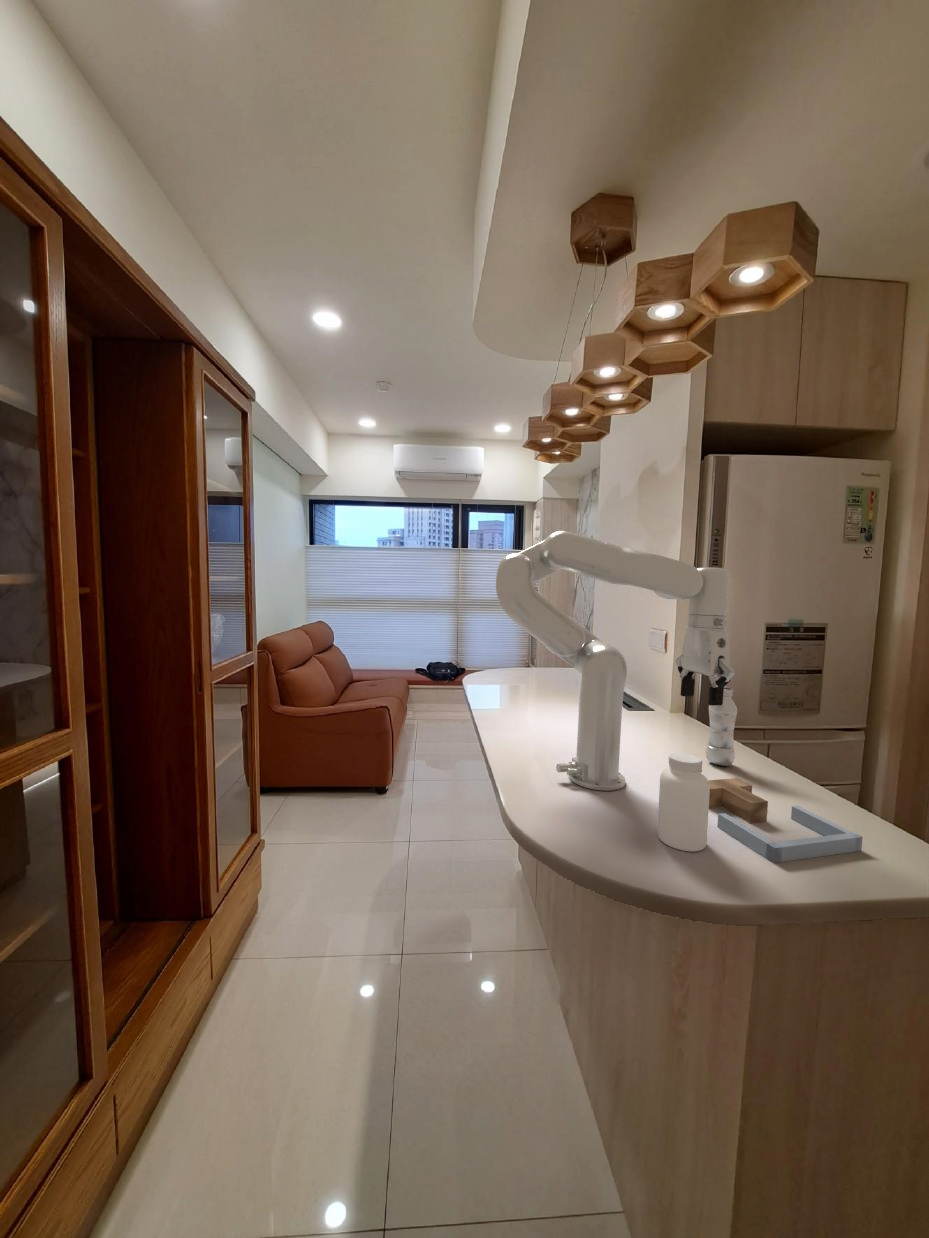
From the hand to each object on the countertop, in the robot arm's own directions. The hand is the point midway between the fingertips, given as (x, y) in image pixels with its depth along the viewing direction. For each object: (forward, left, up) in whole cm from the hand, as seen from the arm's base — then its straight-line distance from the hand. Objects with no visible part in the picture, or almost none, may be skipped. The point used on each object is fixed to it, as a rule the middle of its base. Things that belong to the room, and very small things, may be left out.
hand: (700, 700), depth 106 cm
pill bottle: (-20, -20, -20) cm, 35 cm away
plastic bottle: (+17, +11, -20) cm, 29 cm away
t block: (0, -11, -20) cm, 23 cm away
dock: (0, -23, -20) cm, 30 cm away
